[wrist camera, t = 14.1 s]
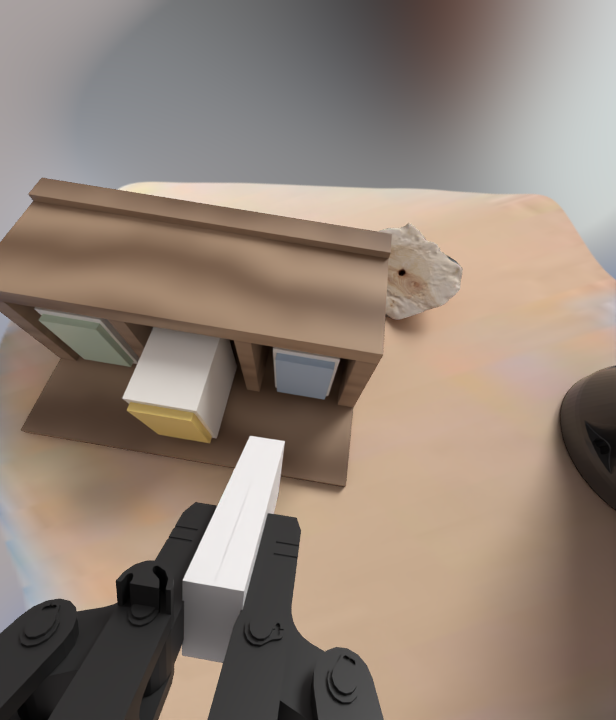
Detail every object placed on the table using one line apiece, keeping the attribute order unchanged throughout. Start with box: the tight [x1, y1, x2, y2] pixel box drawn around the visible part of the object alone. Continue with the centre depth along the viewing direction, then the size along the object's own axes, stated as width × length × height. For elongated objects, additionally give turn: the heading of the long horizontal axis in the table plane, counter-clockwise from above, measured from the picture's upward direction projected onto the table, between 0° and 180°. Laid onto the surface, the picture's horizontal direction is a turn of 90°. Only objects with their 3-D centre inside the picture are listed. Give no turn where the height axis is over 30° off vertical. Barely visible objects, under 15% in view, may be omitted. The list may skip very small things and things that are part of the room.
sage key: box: [34, 307, 140, 367], centre depth 29 cm, size 8×5×8 cm, turn 171°
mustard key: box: [122, 327, 237, 443], centre depth 27 cm, size 8×5×8 cm, turn 171°
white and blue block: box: [273, 347, 340, 400], centre depth 29 cm, size 8×5×8 cm, turn 171°
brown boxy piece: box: [0, 178, 392, 487], centre depth 27 cm, size 18×28×12 cm, turn 81°
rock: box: [379, 223, 462, 320], centre depth 38 cm, size 11×4×12 cm
